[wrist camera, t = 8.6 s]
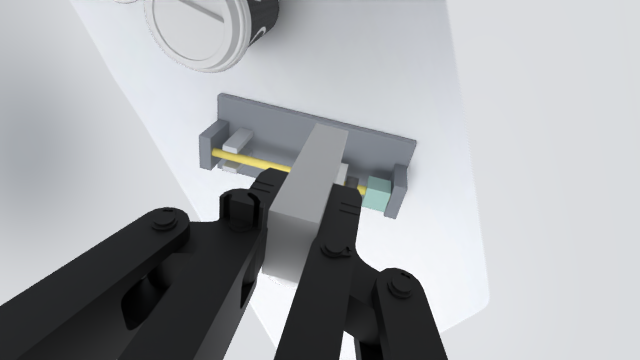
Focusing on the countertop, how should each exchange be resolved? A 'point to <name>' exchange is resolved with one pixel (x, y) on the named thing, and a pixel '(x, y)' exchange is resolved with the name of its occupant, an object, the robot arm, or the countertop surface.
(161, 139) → the countertop surface
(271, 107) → the linear slide fixture
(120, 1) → the teacup
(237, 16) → the coffee cup
